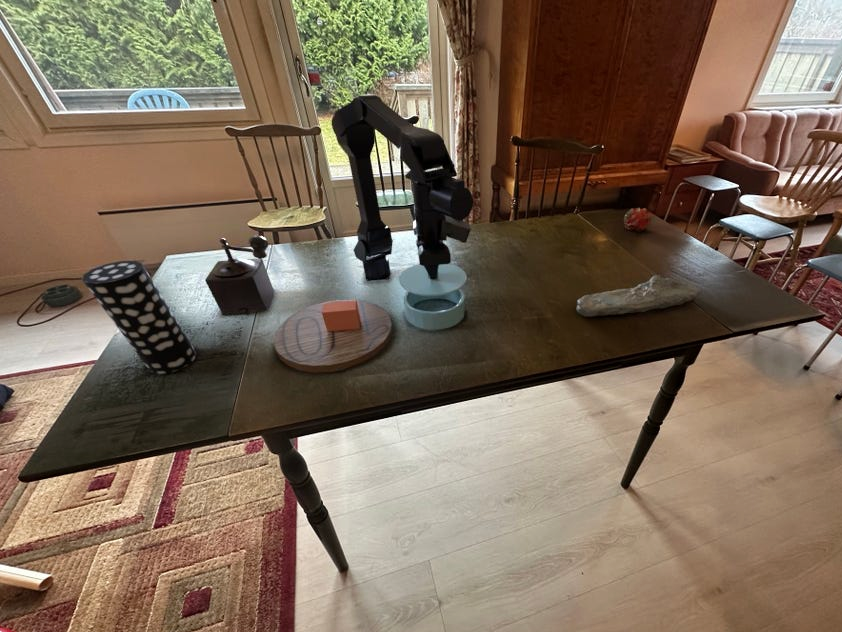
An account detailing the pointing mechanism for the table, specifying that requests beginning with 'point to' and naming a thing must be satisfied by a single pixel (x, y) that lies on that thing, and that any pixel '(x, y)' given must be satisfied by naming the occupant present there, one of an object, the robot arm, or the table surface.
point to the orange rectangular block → (341, 315)
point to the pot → (435, 318)
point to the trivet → (331, 339)
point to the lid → (423, 285)
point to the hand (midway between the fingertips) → (432, 276)
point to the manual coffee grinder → (241, 280)
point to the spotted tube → (141, 315)
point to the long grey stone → (637, 298)
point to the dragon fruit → (637, 219)
